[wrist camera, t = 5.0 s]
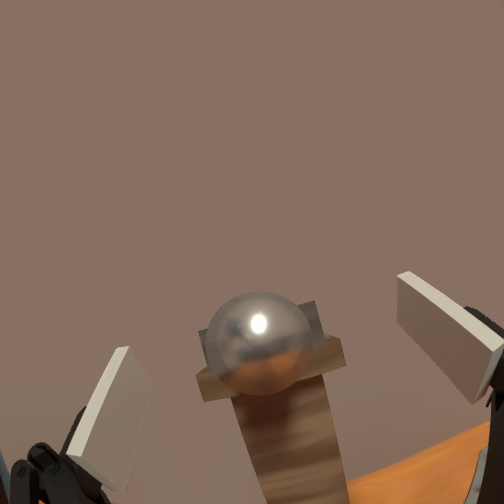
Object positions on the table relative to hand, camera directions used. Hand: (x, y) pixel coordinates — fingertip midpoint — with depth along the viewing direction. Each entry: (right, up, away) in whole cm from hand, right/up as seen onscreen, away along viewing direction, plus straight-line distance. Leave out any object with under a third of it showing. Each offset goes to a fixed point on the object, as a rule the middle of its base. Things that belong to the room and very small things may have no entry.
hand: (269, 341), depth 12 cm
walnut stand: (+8, -33, +5) cm, 34 cm away
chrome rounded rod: (0, -4, +7) cm, 8 cm away
